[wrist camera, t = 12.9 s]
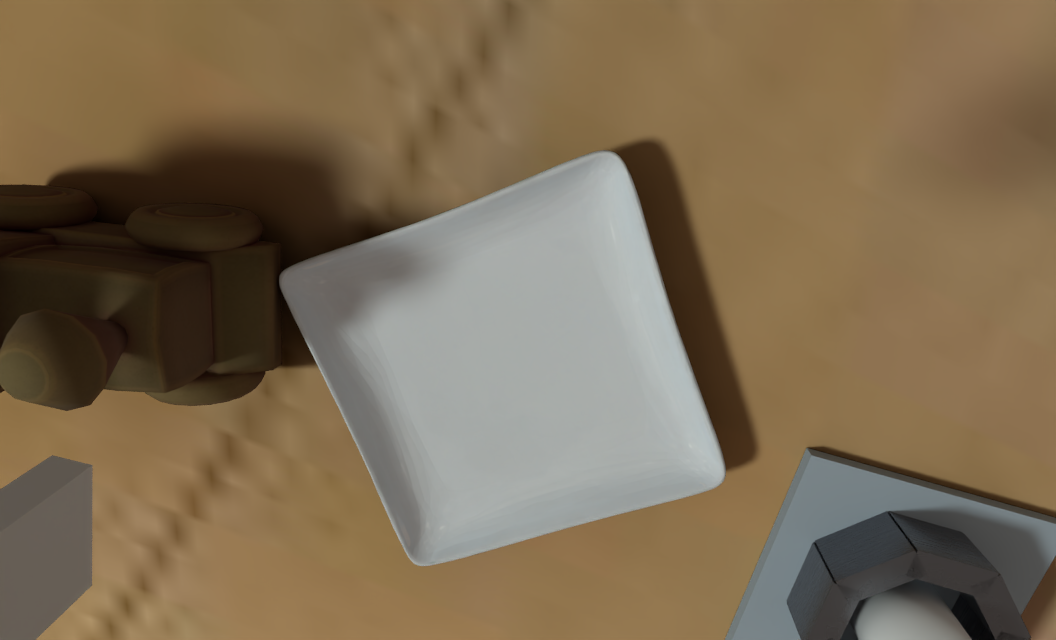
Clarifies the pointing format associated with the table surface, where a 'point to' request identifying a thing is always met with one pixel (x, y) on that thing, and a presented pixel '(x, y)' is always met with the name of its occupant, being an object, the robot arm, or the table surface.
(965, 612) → the ring
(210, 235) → the wooden toy train
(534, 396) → the salad plate
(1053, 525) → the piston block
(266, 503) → the table surface
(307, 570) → the table surface
